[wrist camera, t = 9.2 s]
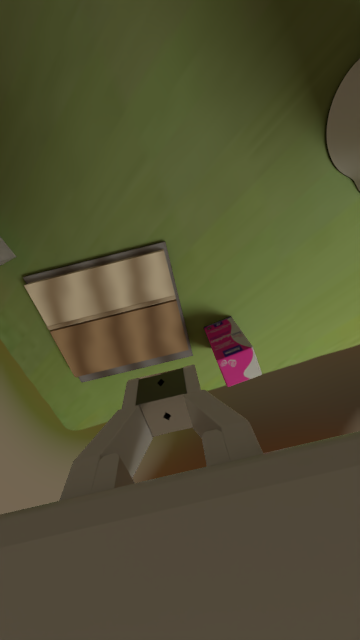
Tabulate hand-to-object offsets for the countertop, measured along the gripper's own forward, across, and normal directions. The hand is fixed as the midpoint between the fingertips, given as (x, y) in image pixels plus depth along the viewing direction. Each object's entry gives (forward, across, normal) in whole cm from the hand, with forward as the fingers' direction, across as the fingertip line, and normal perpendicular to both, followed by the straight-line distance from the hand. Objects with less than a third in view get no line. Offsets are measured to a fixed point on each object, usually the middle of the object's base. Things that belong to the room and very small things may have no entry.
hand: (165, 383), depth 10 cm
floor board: (+29, +10, +8) cm, 32 cm away
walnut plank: (+28, +10, +11) cm, 32 cm away
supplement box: (+29, -8, +16) cm, 34 cm away
